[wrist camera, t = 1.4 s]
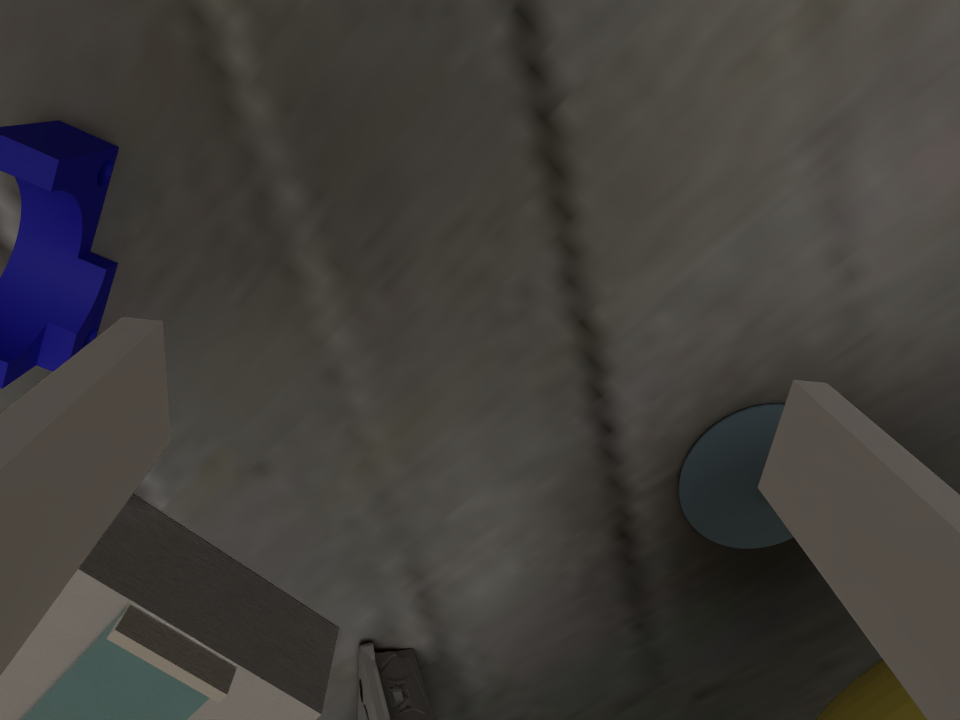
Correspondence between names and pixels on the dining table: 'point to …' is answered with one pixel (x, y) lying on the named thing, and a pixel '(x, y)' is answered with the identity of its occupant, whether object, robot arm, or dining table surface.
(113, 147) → the blue stepped piece
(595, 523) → the dining table surface
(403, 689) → the electrical switch
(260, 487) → the dining table surface
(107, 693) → the white boxy block
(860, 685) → the cocktail glass
